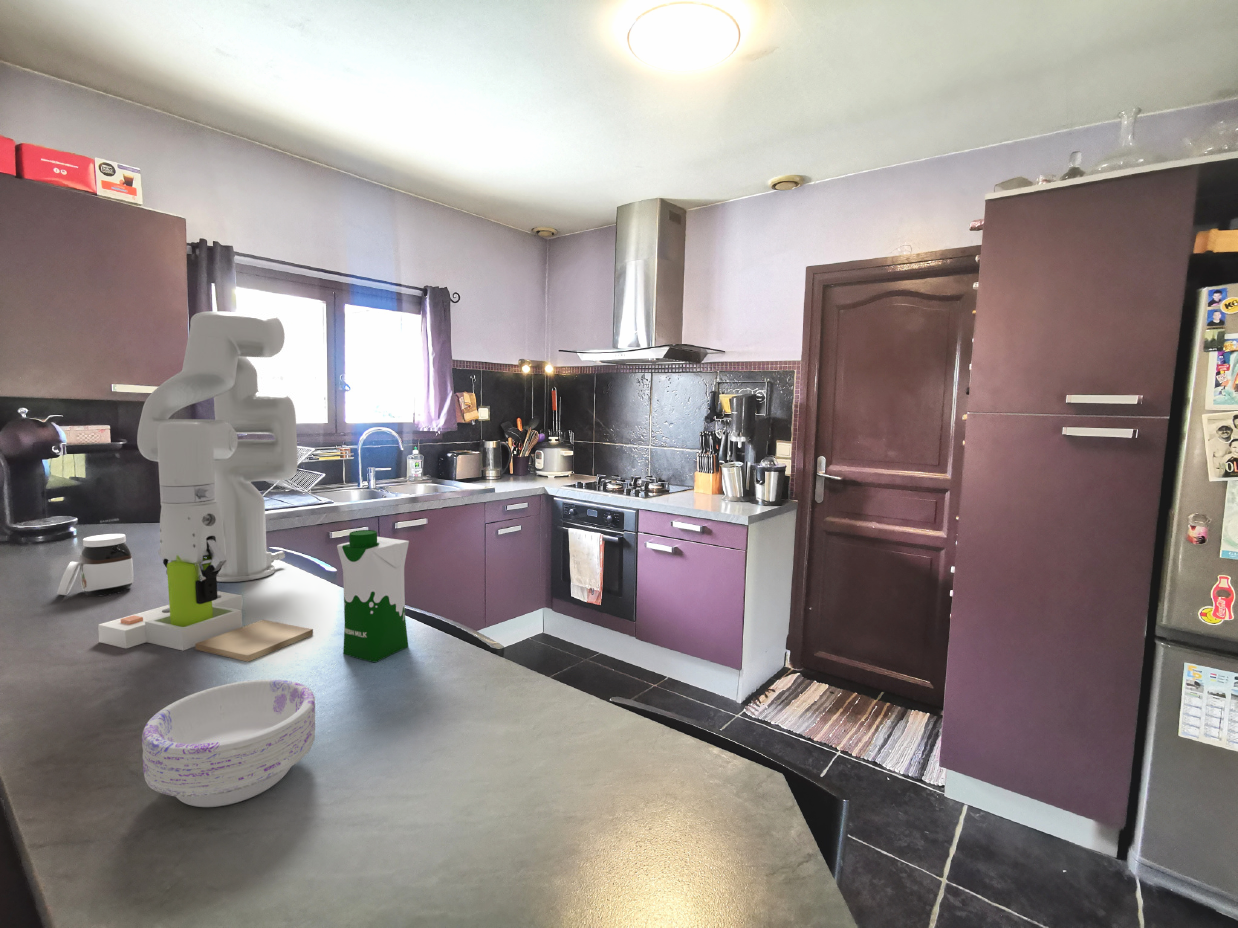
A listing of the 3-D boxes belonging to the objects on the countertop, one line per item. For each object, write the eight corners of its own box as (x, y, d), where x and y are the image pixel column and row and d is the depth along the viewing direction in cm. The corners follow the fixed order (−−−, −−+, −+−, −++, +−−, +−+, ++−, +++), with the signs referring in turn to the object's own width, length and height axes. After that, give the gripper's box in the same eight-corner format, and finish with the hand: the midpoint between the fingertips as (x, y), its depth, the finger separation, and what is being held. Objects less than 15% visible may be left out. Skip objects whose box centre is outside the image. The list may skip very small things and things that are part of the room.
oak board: (263, 624, 107) (263, 619, 107) (313, 634, 103) (312, 629, 103) (195, 649, 96) (195, 643, 96) (248, 661, 92) (247, 655, 92)
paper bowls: (347, 749, 69) (345, 683, 68) (235, 841, 54) (231, 759, 53) (238, 731, 72) (235, 669, 71) (104, 814, 57) (99, 736, 57)
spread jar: (139, 590, 126) (136, 536, 125) (70, 604, 117) (65, 546, 116) (117, 581, 132) (114, 530, 131) (49, 594, 123) (45, 539, 122)
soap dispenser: (226, 628, 105) (220, 517, 103) (195, 643, 98) (187, 525, 96) (196, 627, 106) (189, 516, 104) (162, 642, 99) (154, 524, 97)
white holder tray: (217, 605, 117) (217, 587, 117) (277, 616, 111) (276, 598, 111) (99, 641, 98) (97, 620, 98) (163, 657, 93) (162, 635, 92)
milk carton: (334, 655, 94) (330, 532, 93) (378, 636, 103) (376, 522, 101) (374, 666, 91) (371, 538, 89) (417, 645, 99) (415, 527, 97)
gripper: (245, 495, 100) (250, 599, 102) (177, 489, 106) (182, 587, 108) (200, 501, 93) (206, 612, 95) (130, 494, 99) (136, 599, 101)
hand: (193, 598), depth 101 cm, fingers closed on soap dispenser, 5 cm apart
